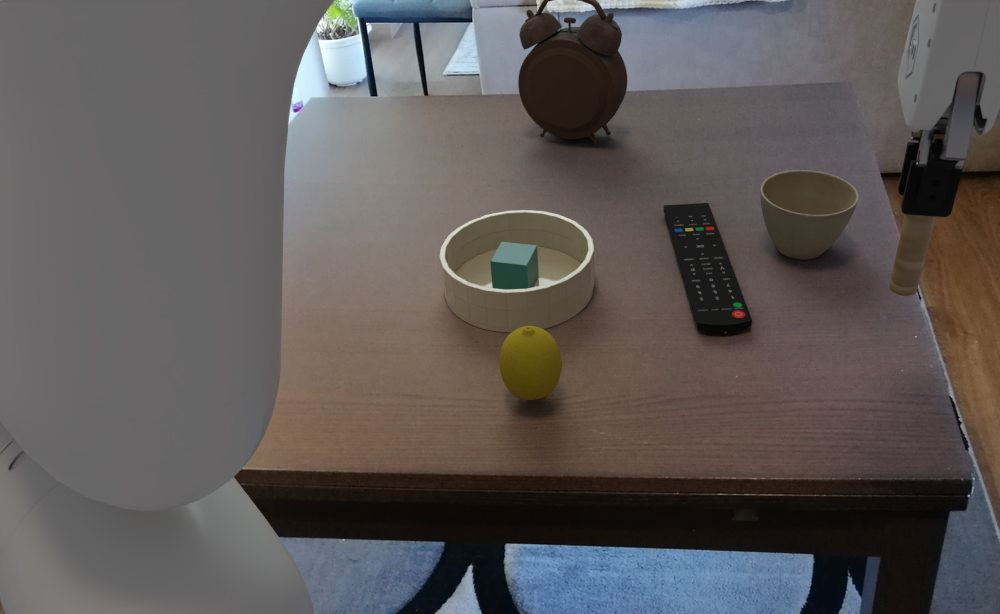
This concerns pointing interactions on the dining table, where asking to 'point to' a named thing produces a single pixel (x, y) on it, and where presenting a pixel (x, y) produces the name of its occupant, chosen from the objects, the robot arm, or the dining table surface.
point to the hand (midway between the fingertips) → (923, 202)
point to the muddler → (912, 251)
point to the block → (514, 266)
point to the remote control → (707, 270)
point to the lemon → (530, 363)
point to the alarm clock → (572, 73)
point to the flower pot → (806, 211)
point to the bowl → (501, 310)
